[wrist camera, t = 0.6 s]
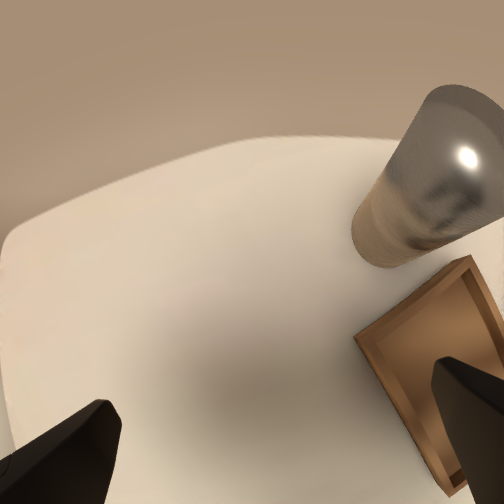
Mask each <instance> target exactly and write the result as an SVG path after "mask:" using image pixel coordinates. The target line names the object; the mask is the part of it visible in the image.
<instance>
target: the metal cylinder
mask: <svg viewBox="0 0 504 504" xmlns="http://www.w3.org/2000/svg"><path fill="white" fill-rule="evenodd" d="M502 217H504V110H503V109H502V108H501V107H500V106H499V105H498V104H496V103H495V102H494V101H493V100H491V99H490V98H489V97H487V96H485V95H484V94H482V93H480V92H478V91H476V90H474V89H472V88H469V87H465V86H461V85H444V86H440V87H438V88H436V89H434V90H433V91H431V93H430V94H428V96H427V97H426V99H425V100H424V102H423V104H422V106H421V108H420V109H419V111H418V113H417V114H416V116H415V118H414V120H413V121H412V123H411V125H410V127H409V128H408V130H407V132H406V133H405V135H404V137H403V138H402V140H401V142H400V144H399V145H398V147H397V149H396V150H395V152H394V154H393V155H392V157H391V158H390V160H389V162H388V163H387V165H386V167H385V168H384V170H383V171H382V173H381V175H380V176H379V178H378V179H377V181H376V183H375V184H374V186H373V187H372V189H371V190H370V192H369V194H368V195H367V197H366V198H365V200H364V201H363V203H362V204H361V206H360V207H359V209H358V211H357V212H356V214H355V216H354V218H353V222H352V228H351V231H352V239H353V242H354V245H355V247H356V249H357V251H358V252H359V254H360V255H361V256H362V257H363V258H364V259H365V260H366V261H368V262H369V263H371V264H373V265H375V266H378V267H382V268H392V267H396V266H399V265H401V264H404V263H406V262H408V261H411V260H413V259H415V258H417V257H420V256H422V255H424V254H426V253H429V252H431V251H433V250H435V249H438V248H440V247H442V246H444V245H446V244H448V243H451V242H453V241H455V240H457V239H459V238H461V237H463V236H466V235H468V234H470V233H472V232H474V231H476V230H478V229H480V228H482V227H484V226H486V225H488V224H490V223H492V222H494V221H496V220H498V219H500V218H502Z"/></svg>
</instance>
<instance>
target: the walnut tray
mask: <svg viewBox="0 0 504 504" xmlns="http://www.w3.org/2000/svg"><path fill="white" fill-rule="evenodd" d="M354 339H355V341H356V342H357V344H358V345H359V347H360V349H361V350H362V352H363V354H364V355H365V357H366V359H367V360H368V362H369V364H370V365H371V367H372V369H373V370H374V372H375V374H376V376H377V377H378V379H379V381H380V382H381V384H382V386H383V387H384V389H385V391H386V393H387V394H388V396H389V398H390V399H391V401H392V403H393V405H394V406H395V408H396V410H397V412H398V413H399V415H400V417H401V419H402V420H403V422H404V424H405V426H406V428H407V429H408V431H409V433H410V435H411V437H412V438H413V440H414V442H415V444H416V446H417V447H418V449H419V451H420V453H421V455H422V457H423V458H424V460H425V462H426V464H427V466H428V468H429V470H430V471H431V473H432V475H433V477H434V479H435V481H436V483H437V484H438V485H439V486H440V488H441V489H442V490H443V491H444V492H445V494H446V495H447V496H448V497H449V498H450V497H451V496H452V495H454V494H455V493H456V492H458V491H459V490H460V489H462V488H463V487H464V486H465V485H467V484H468V483H467V480H466V478H465V475H464V473H463V471H462V468H461V466H460V464H459V461H458V459H457V457H456V454H455V452H454V450H453V448H452V445H451V443H450V441H449V439H448V436H447V434H446V431H445V428H444V425H443V422H442V419H441V416H440V413H439V410H438V407H437V404H436V401H435V399H434V396H433V393H432V390H431V379H432V373H433V367H434V363H435V361H436V360H437V359H439V358H442V357H446V356H451V357H453V358H456V359H458V360H460V361H462V362H465V363H467V364H469V365H471V366H474V367H476V368H478V369H480V370H483V371H485V372H487V373H489V374H492V375H494V376H496V377H498V378H501V379H503V380H504V321H503V318H502V316H501V314H500V312H499V309H498V307H497V305H496V303H495V301H494V299H493V296H492V294H491V292H490V290H489V288H488V286H487V284H486V282H485V280H484V278H483V276H482V275H481V273H480V271H479V269H478V267H477V265H476V263H475V262H474V260H473V258H472V256H471V254H470V255H468V256H465V257H462V258H459V259H456V260H453V261H452V262H450V263H449V264H448V265H447V266H446V267H445V268H444V269H442V270H441V271H440V272H439V273H438V274H436V275H435V276H434V277H433V278H432V279H430V280H429V281H428V282H427V283H426V284H424V285H423V286H422V287H421V288H419V289H418V290H417V291H416V292H414V293H413V294H412V295H410V296H409V297H408V298H407V299H405V300H404V301H403V302H401V303H400V304H399V305H397V306H396V307H395V308H393V309H392V310H391V311H389V312H388V313H387V314H385V315H384V316H383V317H381V318H380V319H379V320H377V321H376V322H374V323H373V324H372V325H370V326H369V327H367V328H366V329H364V330H363V331H362V332H360V333H359V334H357V335H356V336H354Z"/></svg>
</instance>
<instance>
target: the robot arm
mask: <svg viewBox="0 0 504 504" xmlns="http://www.w3.org/2000/svg"><path fill="white" fill-rule="evenodd" d="M431 390H432V393H433V396H434V399H435V401H436V404H437V407H438V410H439V413H440V416H441V419H442V422H443V425H444V428H445V431H446V434H447V436H448V439H449V441H450V443H451V445H452V448H453V450H454V452H455V454H456V457H457V459H458V461H459V464H460V466H461V468H462V471H463V473H464V475H465V478H466V480H467V483H468V485H469V488H470V490H471V493H472V495H473V498H474V501H475V503H476V504H504V380H503V379H501V378H498V377H496V376H494V375H492V374H489V373H487V372H485V371H483V370H480V369H478V368H476V367H474V366H471V365H469V364H467V363H465V362H462V361H460V360H458V359H456V358H453V357H451V356H446V357H442V358H439V359H437V360H436V361H435V363H434V367H433V373H432V379H431ZM121 428H122V422H121V419H120V417H119V415H118V413H117V412H116V410H115V408H114V406H113V405H112V403H111V402H110V401H109V400H104V399H97V400H95V401H93V402H92V403H90V404H89V405H87V406H86V407H84V408H82V409H81V410H79V411H78V412H76V413H75V414H73V415H72V416H70V417H69V418H67V419H66V420H64V421H62V422H61V423H59V424H58V425H56V426H55V427H53V428H52V429H50V430H48V431H47V432H45V433H44V434H42V435H41V436H39V437H37V438H36V439H34V440H33V441H31V442H29V443H28V444H26V445H25V446H23V447H21V448H20V449H18V450H16V451H15V452H13V453H12V454H10V455H8V456H7V457H5V458H3V459H2V460H0V504H104V503H105V499H106V496H107V492H108V488H109V485H110V481H111V478H112V474H113V470H114V466H115V461H116V455H117V450H118V444H119V439H120V433H121Z"/></svg>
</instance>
